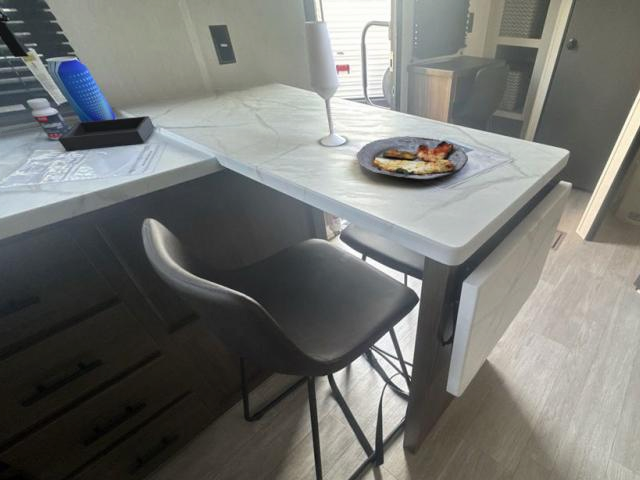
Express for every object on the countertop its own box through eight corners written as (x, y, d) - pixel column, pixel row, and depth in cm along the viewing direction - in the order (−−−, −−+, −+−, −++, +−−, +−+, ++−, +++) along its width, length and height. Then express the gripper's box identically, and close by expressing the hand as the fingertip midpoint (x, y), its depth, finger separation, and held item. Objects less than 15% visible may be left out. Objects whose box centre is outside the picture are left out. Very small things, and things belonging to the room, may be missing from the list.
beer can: (105, 119, 98) (66, 55, 86) (125, 122, 96) (88, 56, 84) (78, 128, 92) (32, 60, 81) (99, 130, 90) (55, 62, 79)
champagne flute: (324, 136, 87) (305, 20, 69) (348, 137, 86) (335, 20, 69) (317, 145, 82) (295, 23, 65) (342, 146, 81) (327, 23, 64)
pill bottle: (50, 141, 84) (21, 104, 78) (50, 136, 87) (23, 99, 81) (74, 137, 87) (48, 100, 80) (74, 132, 90) (49, 96, 83)
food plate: (472, 151, 79) (474, 136, 76) (457, 194, 63) (459, 177, 61) (378, 141, 84) (378, 127, 81) (343, 178, 68) (341, 162, 66)
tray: (66, 151, 80) (57, 138, 77) (85, 133, 89) (77, 122, 86) (144, 143, 83) (137, 130, 81) (154, 127, 92) (148, 115, 90)
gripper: (-120, -87, 52) (-1, 69, 67) (-30, -70, 69) (49, 52, 84) (-180, -89, 50) (-45, 72, 66) (-73, -71, 67) (15, 54, 82)
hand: (8, 61), depth 75 cm, fingers open, 13 cm apart
